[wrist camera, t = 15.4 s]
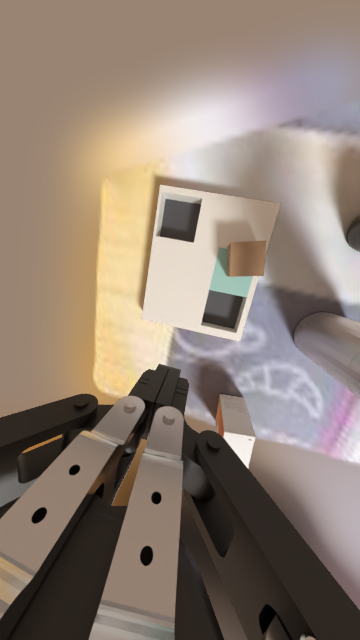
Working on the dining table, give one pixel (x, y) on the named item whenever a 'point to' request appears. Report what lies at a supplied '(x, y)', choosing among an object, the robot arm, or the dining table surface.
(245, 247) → the walnut block
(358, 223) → the supplement bottle
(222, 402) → the small box
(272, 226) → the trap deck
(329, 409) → the dining table surface
